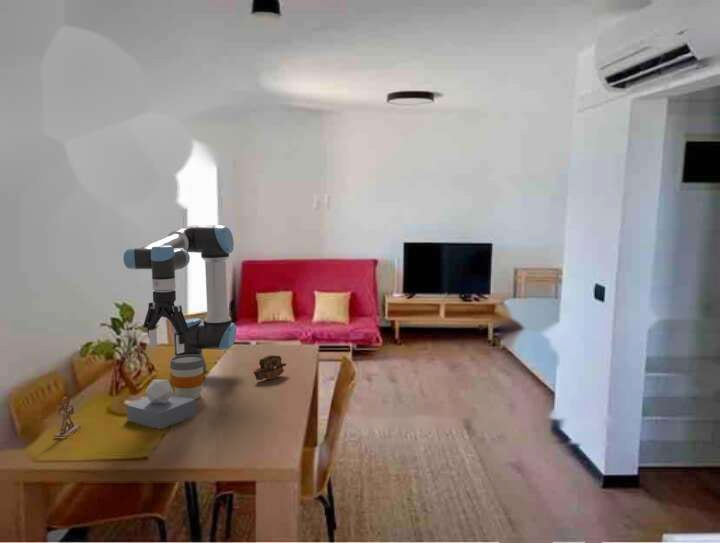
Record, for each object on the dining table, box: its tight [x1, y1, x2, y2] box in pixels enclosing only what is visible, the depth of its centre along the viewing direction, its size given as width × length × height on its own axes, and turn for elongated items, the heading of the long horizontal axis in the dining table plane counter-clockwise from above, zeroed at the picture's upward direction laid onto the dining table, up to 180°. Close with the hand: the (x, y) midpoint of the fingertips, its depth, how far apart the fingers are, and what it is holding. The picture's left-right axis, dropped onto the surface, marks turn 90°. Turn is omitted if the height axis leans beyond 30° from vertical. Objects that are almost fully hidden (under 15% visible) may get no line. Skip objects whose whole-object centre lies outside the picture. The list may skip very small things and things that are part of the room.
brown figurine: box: [53, 396, 81, 438], centre depth 184 cm, size 9×4×12 cm, turn 176°
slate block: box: [126, 393, 197, 430], centre depth 198 cm, size 16×16×6 cm
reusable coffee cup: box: [169, 355, 205, 400], centre depth 219 cm, size 13×13×15 cm
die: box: [145, 379, 175, 404], centre depth 197 cm, size 8×9×10 cm
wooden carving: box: [253, 354, 287, 381], centre depth 242 cm, size 16×5×10 cm, turn 143°
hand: (166, 350), depth 200 cm, fingers open, 13 cm apart
